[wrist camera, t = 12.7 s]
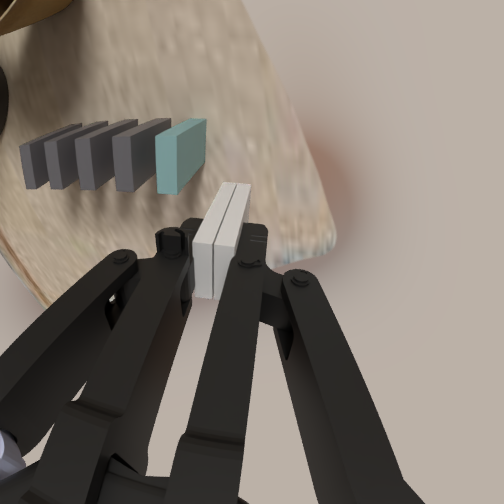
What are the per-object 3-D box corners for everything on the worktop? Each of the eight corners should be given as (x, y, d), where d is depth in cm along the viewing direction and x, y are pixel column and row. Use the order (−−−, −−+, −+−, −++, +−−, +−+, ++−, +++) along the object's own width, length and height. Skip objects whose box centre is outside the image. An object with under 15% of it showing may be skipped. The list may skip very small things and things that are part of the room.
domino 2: (98, 159, 32) (51, 189, 24) (96, 121, 30) (43, 142, 21) (110, 159, 32) (63, 189, 24) (107, 120, 30) (56, 141, 21)
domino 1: (74, 159, 33) (26, 189, 24) (71, 124, 30) (19, 145, 21) (84, 159, 33) (36, 189, 24) (81, 123, 30) (29, 144, 21)
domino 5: (189, 160, 32) (157, 193, 24) (190, 118, 29) (155, 135, 21) (205, 161, 32) (177, 194, 24) (206, 118, 29) (176, 136, 21)
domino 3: (126, 158, 32) (80, 189, 24) (124, 119, 30) (74, 139, 21) (139, 159, 32) (95, 190, 24) (137, 118, 30) (89, 138, 21)
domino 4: (157, 159, 32) (116, 191, 24) (156, 118, 29) (111, 136, 21) (171, 160, 32) (133, 192, 24) (171, 118, 29) (130, 136, 21)
